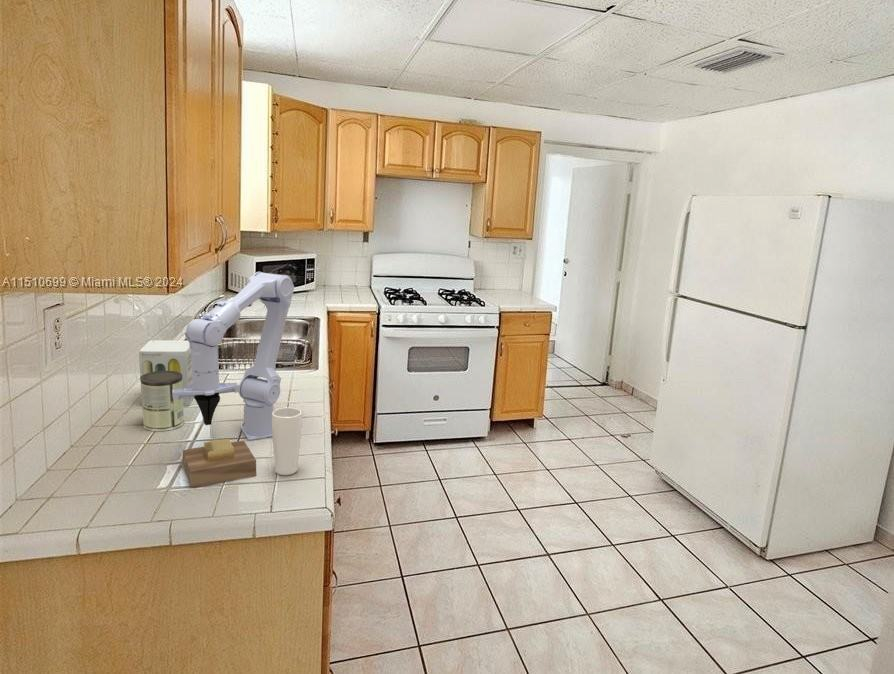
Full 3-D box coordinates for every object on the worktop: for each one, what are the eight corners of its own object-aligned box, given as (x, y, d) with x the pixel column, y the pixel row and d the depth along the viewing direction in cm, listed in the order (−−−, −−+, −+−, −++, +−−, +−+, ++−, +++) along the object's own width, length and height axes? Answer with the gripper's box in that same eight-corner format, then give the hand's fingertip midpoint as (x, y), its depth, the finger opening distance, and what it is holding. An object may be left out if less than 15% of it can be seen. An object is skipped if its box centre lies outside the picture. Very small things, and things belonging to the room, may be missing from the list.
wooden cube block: (204, 465, 134) (203, 442, 133) (229, 461, 137) (228, 438, 136) (208, 476, 129) (207, 451, 128) (234, 471, 132) (233, 447, 131)
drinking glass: (271, 478, 131) (271, 418, 128) (271, 465, 138) (271, 407, 134) (301, 476, 133) (302, 417, 130) (300, 463, 139) (301, 406, 136)
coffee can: (145, 418, 159) (142, 371, 156) (185, 416, 163) (183, 369, 160) (140, 433, 150) (137, 382, 147) (183, 430, 154) (181, 380, 151)
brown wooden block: (183, 465, 134) (182, 450, 133) (243, 455, 142) (243, 440, 141) (191, 488, 125) (190, 471, 124) (256, 475, 132) (256, 459, 131)
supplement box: (140, 407, 167) (137, 350, 163) (152, 392, 180) (149, 339, 176) (189, 406, 170) (187, 350, 166) (197, 392, 183) (195, 340, 179)
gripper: (174, 378, 126) (177, 434, 129) (241, 371, 134) (242, 424, 137) (169, 369, 132) (172, 423, 135) (234, 363, 140) (235, 414, 143)
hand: (207, 423), depth 136 cm, fingers closed
